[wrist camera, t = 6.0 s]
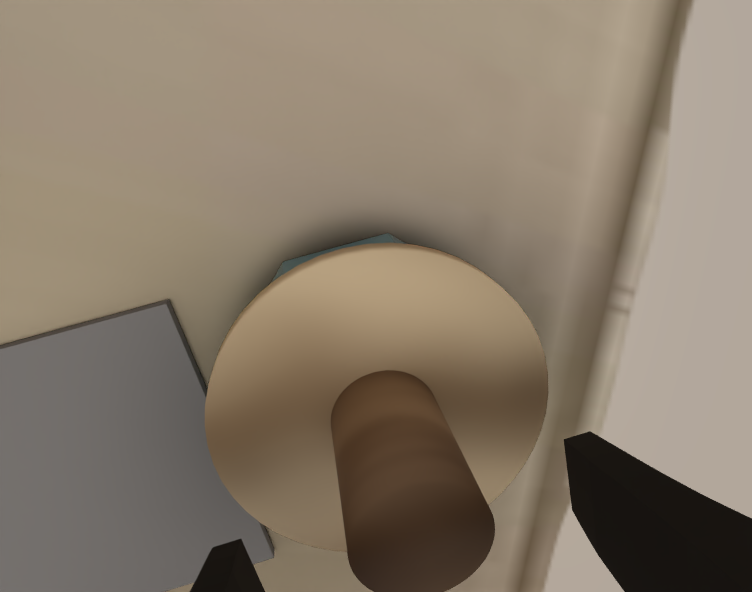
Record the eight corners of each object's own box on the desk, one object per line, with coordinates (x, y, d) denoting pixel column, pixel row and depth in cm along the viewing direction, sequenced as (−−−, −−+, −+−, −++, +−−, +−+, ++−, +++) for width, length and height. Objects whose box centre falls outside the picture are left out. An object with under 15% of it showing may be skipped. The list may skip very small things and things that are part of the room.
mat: (274, 549, 20) (273, 557, 20) (-7, 636, 20) (-13, 646, 19) (169, 299, 16) (166, 303, 16) (-190, 397, 16) (-202, 404, 15)
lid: (547, 485, 17) (648, 633, 12) (264, 566, 17) (254, 756, 12) (519, 205, 14) (644, 260, 9) (157, 293, 13) (80, 405, 8)
